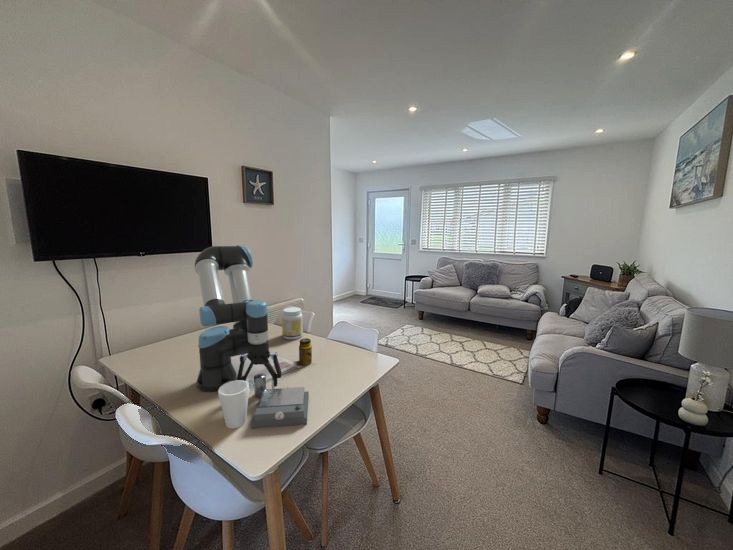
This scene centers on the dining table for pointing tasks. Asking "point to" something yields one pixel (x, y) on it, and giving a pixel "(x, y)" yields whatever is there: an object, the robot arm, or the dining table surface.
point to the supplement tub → (292, 323)
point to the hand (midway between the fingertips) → (260, 394)
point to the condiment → (304, 353)
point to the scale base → (281, 415)
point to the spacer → (259, 384)
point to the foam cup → (234, 402)
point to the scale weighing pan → (282, 397)
